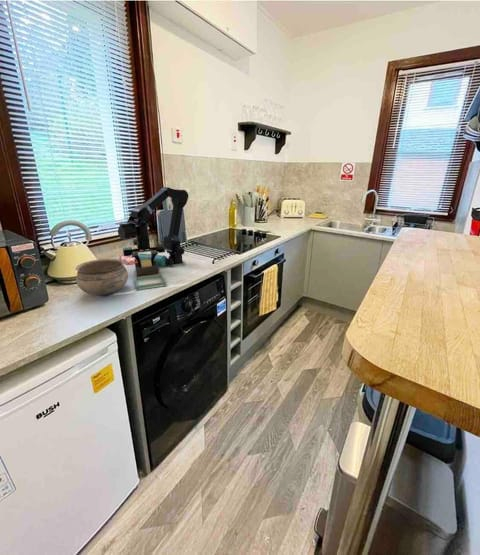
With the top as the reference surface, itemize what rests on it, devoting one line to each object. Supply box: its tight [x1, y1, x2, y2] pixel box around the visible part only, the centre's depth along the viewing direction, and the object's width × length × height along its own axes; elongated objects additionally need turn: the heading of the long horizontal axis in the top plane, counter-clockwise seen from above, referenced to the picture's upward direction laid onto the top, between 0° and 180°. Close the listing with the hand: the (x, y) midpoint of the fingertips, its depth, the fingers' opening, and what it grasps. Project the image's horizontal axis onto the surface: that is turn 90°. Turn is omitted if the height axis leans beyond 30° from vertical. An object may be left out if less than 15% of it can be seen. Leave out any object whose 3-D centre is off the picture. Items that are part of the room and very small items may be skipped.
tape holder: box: [134, 260, 160, 277], centre depth 134 cm, size 14×10×5 cm
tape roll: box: [140, 258, 152, 267], centre depth 133 cm, size 7×5×7 cm, turn 23°
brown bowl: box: [75, 258, 129, 297], centre depth 111 cm, size 25×19×12 cm
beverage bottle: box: [138, 253, 174, 268], centre depth 144 cm, size 6×7×20 cm
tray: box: [134, 273, 167, 292], centre depth 122 cm, size 12×11×2 cm
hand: (146, 267), depth 133 cm, fingers closed on tape roll, 5 cm apart
